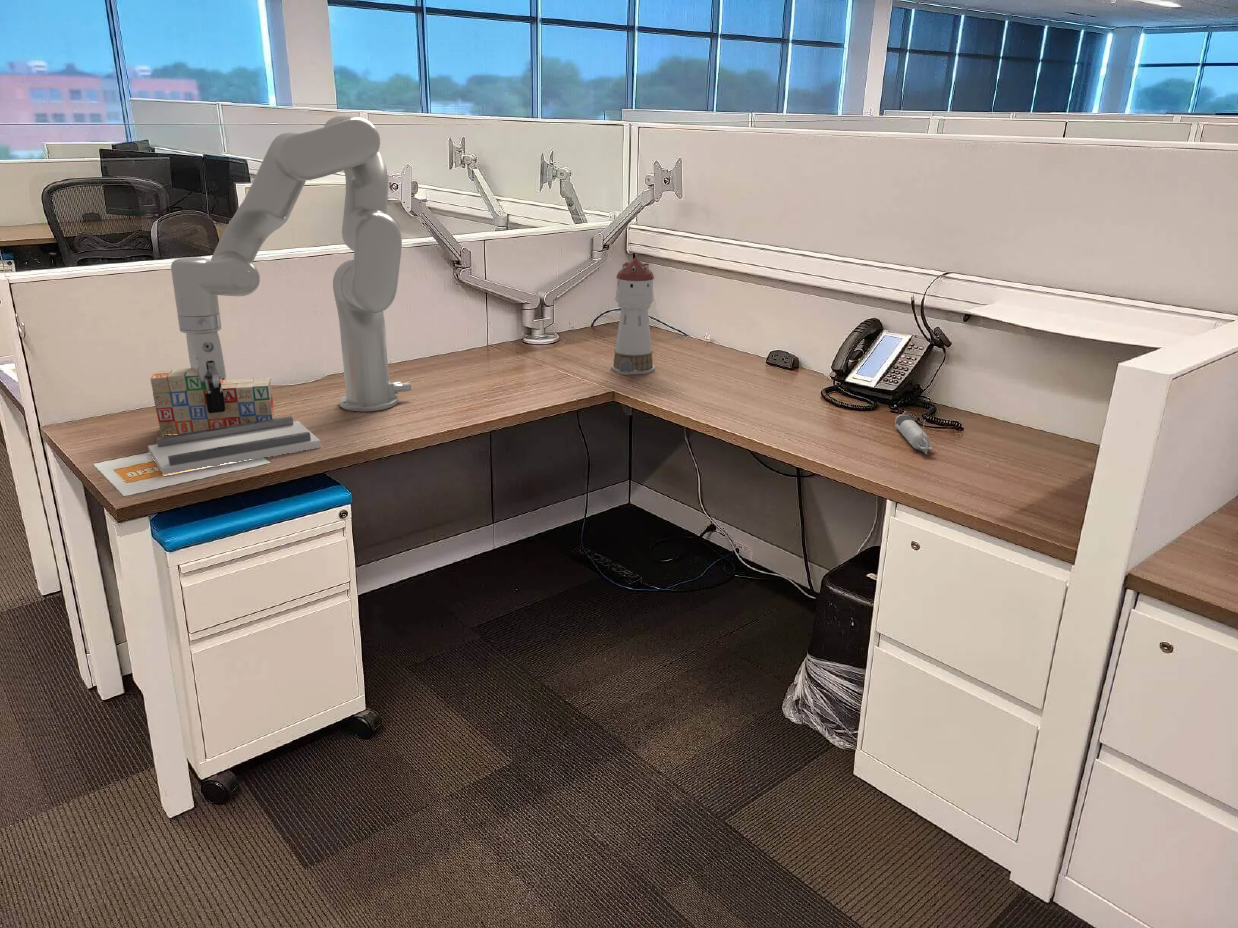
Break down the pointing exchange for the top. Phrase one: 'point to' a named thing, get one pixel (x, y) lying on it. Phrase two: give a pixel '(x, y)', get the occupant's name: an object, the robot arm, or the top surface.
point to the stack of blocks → (187, 406)
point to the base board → (231, 444)
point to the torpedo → (913, 433)
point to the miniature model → (634, 319)
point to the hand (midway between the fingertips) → (211, 405)
